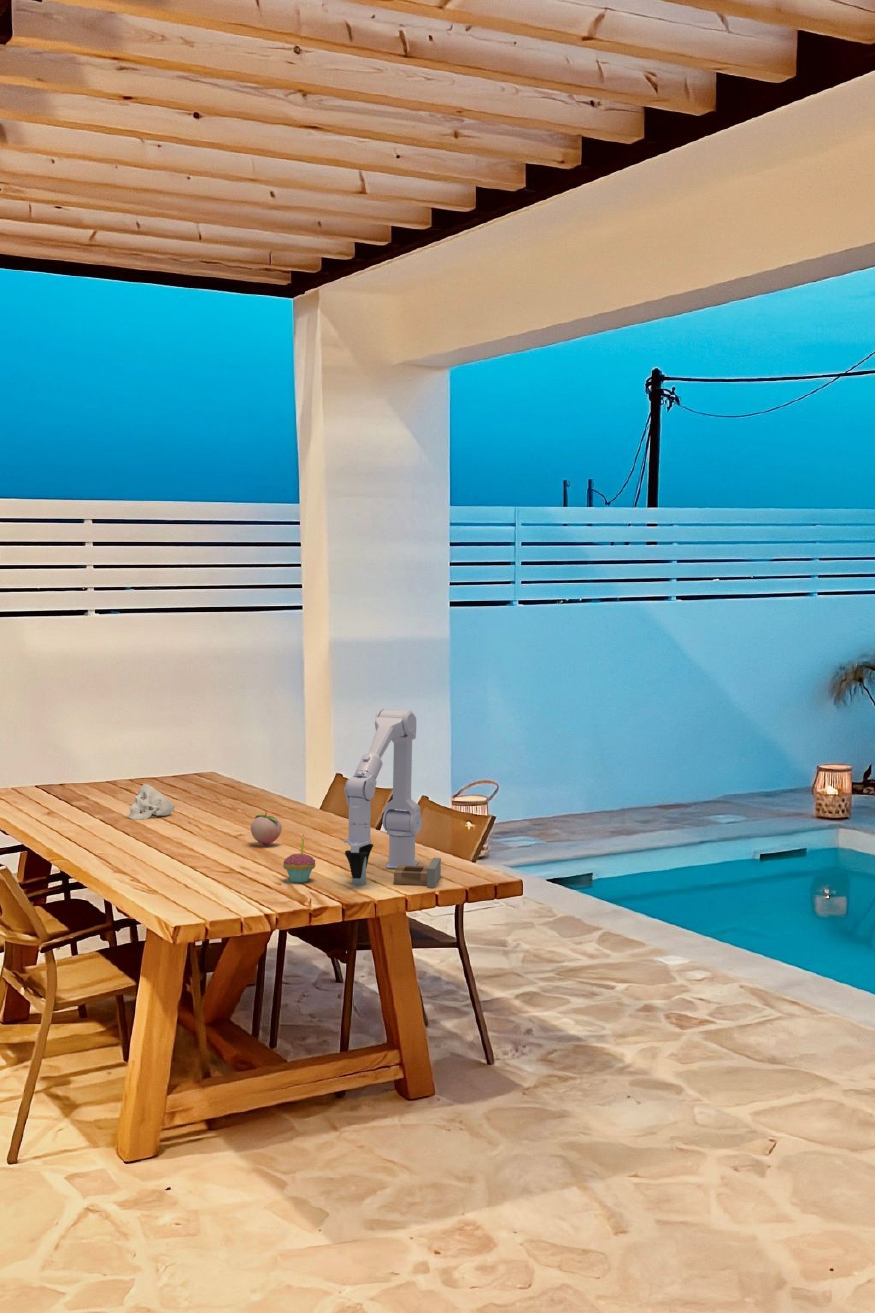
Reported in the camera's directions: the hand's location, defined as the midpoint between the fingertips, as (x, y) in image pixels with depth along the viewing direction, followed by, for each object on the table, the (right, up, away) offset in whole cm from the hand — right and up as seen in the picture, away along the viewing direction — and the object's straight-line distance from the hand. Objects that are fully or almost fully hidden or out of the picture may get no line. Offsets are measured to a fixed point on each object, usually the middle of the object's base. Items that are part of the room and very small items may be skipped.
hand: (359, 875), depth 344 cm
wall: (+19, -2, +3) cm, 20 cm away
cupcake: (-16, -2, +3) cm, 16 cm away
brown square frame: (+14, -2, +4) cm, 15 cm away
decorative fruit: (-31, 0, +49) cm, 58 cm away
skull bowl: (-75, +3, +96) cm, 122 cm away
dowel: (0, -2, 0) cm, 2 cm away
